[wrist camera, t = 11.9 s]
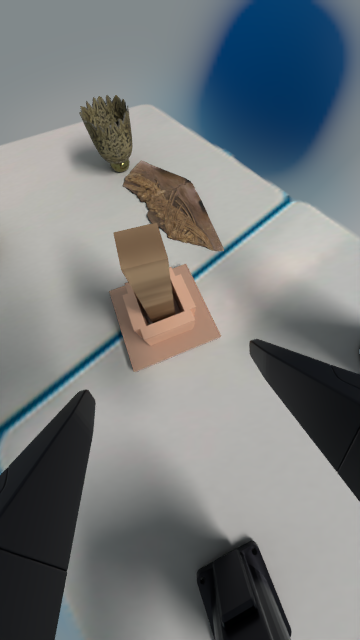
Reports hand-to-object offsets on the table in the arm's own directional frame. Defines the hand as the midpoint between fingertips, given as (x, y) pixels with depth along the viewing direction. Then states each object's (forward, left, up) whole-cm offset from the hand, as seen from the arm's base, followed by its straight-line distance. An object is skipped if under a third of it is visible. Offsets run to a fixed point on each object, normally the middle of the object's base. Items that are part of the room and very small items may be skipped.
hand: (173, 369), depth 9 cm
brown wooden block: (+8, -1, -13) cm, 15 cm away
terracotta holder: (+8, -1, -14) cm, 16 cm away
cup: (+40, -4, -14) cm, 43 cm away
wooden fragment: (+27, -10, -14) cm, 32 cm away
